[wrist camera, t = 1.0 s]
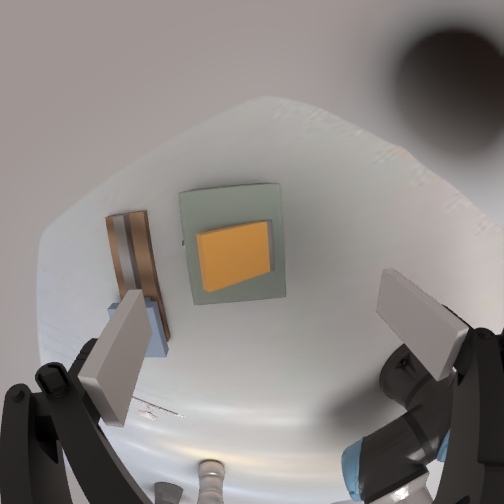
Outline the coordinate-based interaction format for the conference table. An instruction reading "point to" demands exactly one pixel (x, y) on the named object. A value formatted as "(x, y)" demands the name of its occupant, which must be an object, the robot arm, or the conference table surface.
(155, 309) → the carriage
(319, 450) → the conference table surface
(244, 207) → the gauge cabinet
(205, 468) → the plastic bottle
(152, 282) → the rail
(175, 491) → the coffeepot
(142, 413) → the picture light
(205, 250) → the orange slab
